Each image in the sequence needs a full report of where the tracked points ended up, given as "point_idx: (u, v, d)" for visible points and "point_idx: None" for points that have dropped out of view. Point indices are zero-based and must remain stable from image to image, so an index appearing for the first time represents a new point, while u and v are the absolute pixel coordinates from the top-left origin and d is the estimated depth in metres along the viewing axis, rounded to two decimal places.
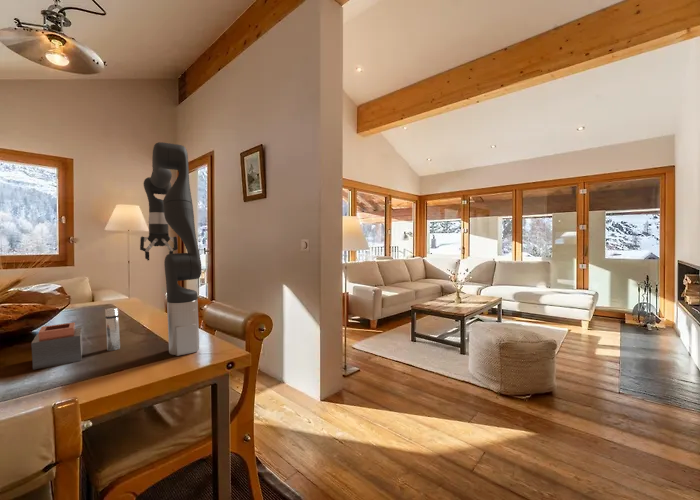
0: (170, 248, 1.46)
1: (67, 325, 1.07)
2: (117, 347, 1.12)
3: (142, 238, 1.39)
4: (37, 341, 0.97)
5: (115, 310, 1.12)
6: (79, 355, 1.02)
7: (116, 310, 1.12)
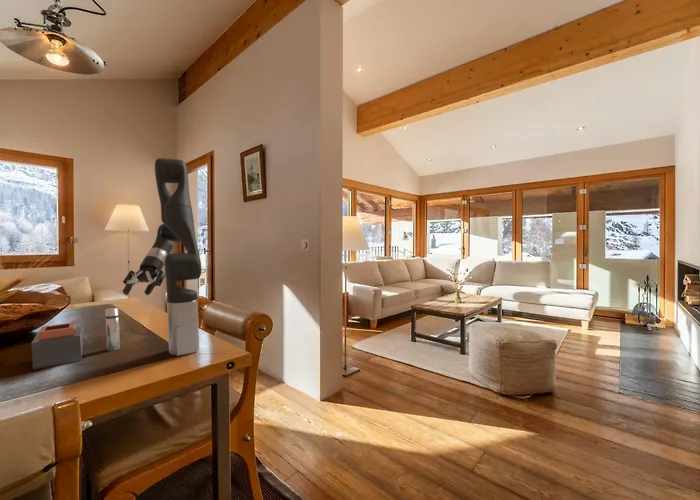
0: (150, 281, 1.26)
1: (67, 325, 1.07)
2: (117, 347, 1.12)
3: (130, 272, 1.29)
4: (37, 341, 0.97)
5: (115, 310, 1.12)
6: (79, 355, 1.02)
7: (116, 310, 1.12)
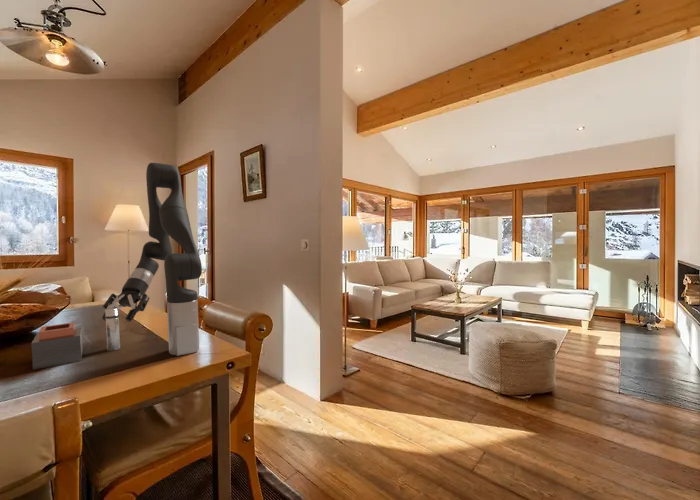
0: (132, 306, 1.16)
1: (67, 325, 1.07)
2: (117, 347, 1.12)
3: (112, 295, 1.20)
4: (37, 341, 0.97)
5: (115, 310, 1.12)
6: (79, 355, 1.02)
7: (116, 310, 1.12)
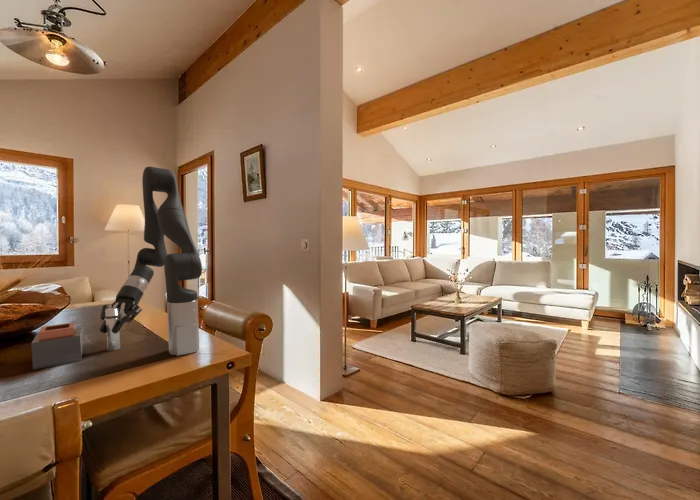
0: (119, 317, 1.13)
1: (67, 325, 1.07)
2: (117, 347, 1.12)
3: (104, 307, 1.16)
4: (37, 341, 0.97)
5: (115, 310, 1.12)
6: (79, 355, 1.02)
7: (116, 310, 1.12)
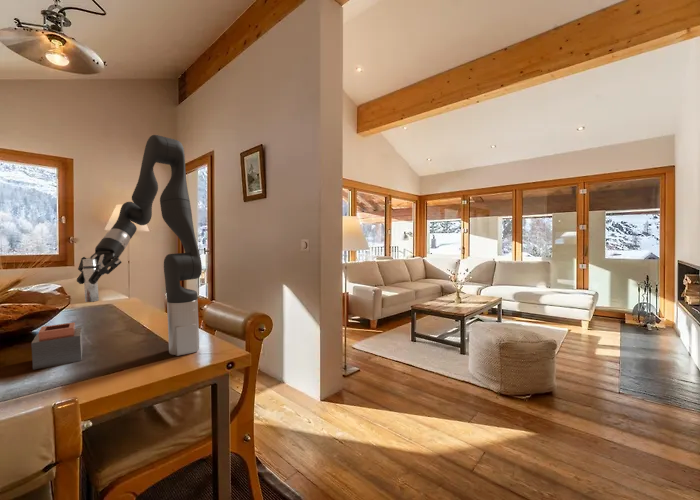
0: (97, 268, 1.09)
1: (67, 325, 1.07)
2: (95, 299, 1.08)
3: (83, 258, 1.12)
4: (37, 341, 0.97)
5: (93, 260, 1.08)
6: (79, 355, 1.02)
7: (94, 260, 1.08)
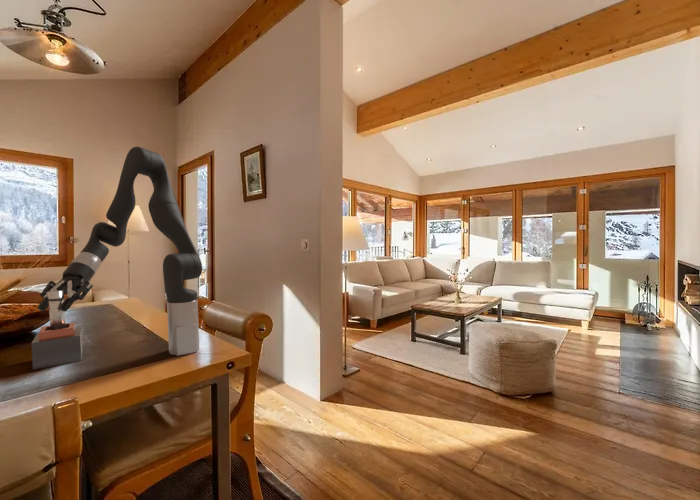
0: (69, 294, 1.03)
1: (67, 325, 1.07)
2: None
3: (50, 282, 1.07)
4: (37, 341, 0.97)
5: (59, 292, 1.02)
6: (79, 355, 1.02)
7: (60, 292, 1.02)
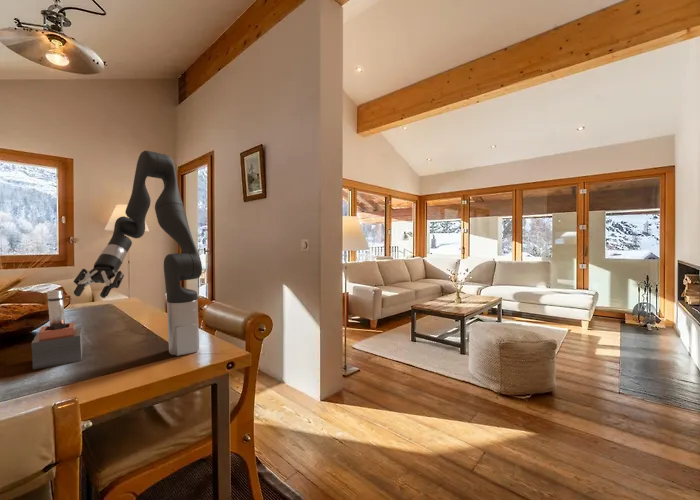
0: (107, 282, 1.16)
1: (67, 325, 1.07)
2: None
3: (82, 270, 1.18)
4: (37, 341, 0.97)
5: (58, 292, 1.02)
6: (79, 355, 1.02)
7: (60, 292, 1.02)
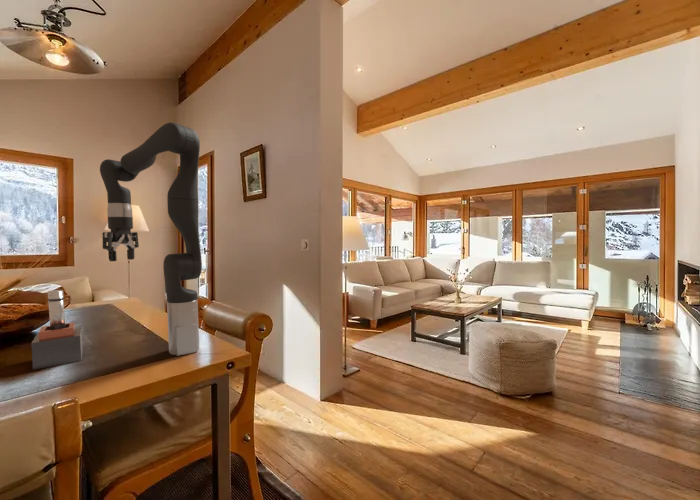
0: (133, 246, 1.24)
1: (67, 325, 1.07)
2: None
3: (110, 234, 1.13)
4: (37, 341, 0.97)
5: (59, 292, 1.02)
6: (79, 355, 1.02)
7: (60, 292, 1.02)
